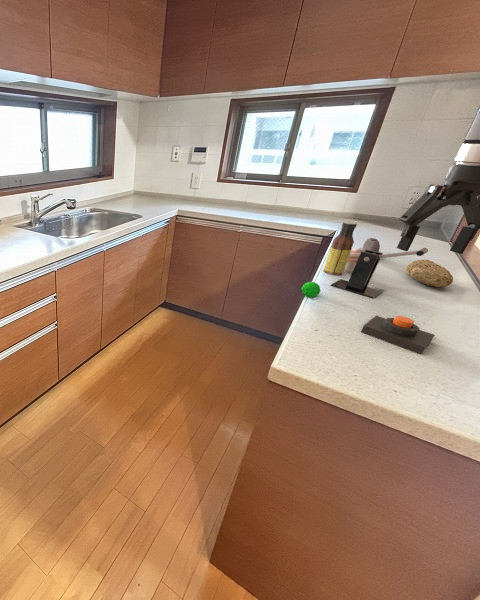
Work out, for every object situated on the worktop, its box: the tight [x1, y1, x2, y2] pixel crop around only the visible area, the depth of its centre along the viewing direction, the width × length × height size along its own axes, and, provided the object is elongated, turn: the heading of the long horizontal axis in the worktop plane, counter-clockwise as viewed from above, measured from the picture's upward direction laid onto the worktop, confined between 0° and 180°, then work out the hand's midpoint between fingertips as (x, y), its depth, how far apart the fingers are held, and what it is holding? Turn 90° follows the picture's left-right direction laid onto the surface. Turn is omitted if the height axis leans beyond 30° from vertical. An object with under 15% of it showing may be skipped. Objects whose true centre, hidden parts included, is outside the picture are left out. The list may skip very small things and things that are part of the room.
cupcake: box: [343, 247, 363, 274], centre depth 125 cm, size 9×9×10 cm
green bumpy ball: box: [301, 281, 321, 298], centre depth 105 cm, size 5×5×5 cm
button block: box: [360, 315, 435, 355], centre depth 84 cm, size 12×10×4 cm
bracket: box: [330, 249, 384, 299], centre depth 108 cm, size 12×9×14 cm
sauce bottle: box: [322, 221, 358, 277], centre depth 120 cm, size 7×6×20 cm
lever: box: [372, 247, 429, 259], centre depth 101 cm, size 14×6×2 cm, turn 36°
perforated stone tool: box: [362, 237, 381, 252], centre depth 145 cm, size 15×5×7 cm, turn 145°
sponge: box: [405, 258, 454, 288], centre depth 119 cm, size 13×8×20 cm
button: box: [392, 315, 415, 328], centre depth 82 cm, size 4×4×2 cm
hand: (428, 251), depth 86 cm, fingers open, 13 cm apart
